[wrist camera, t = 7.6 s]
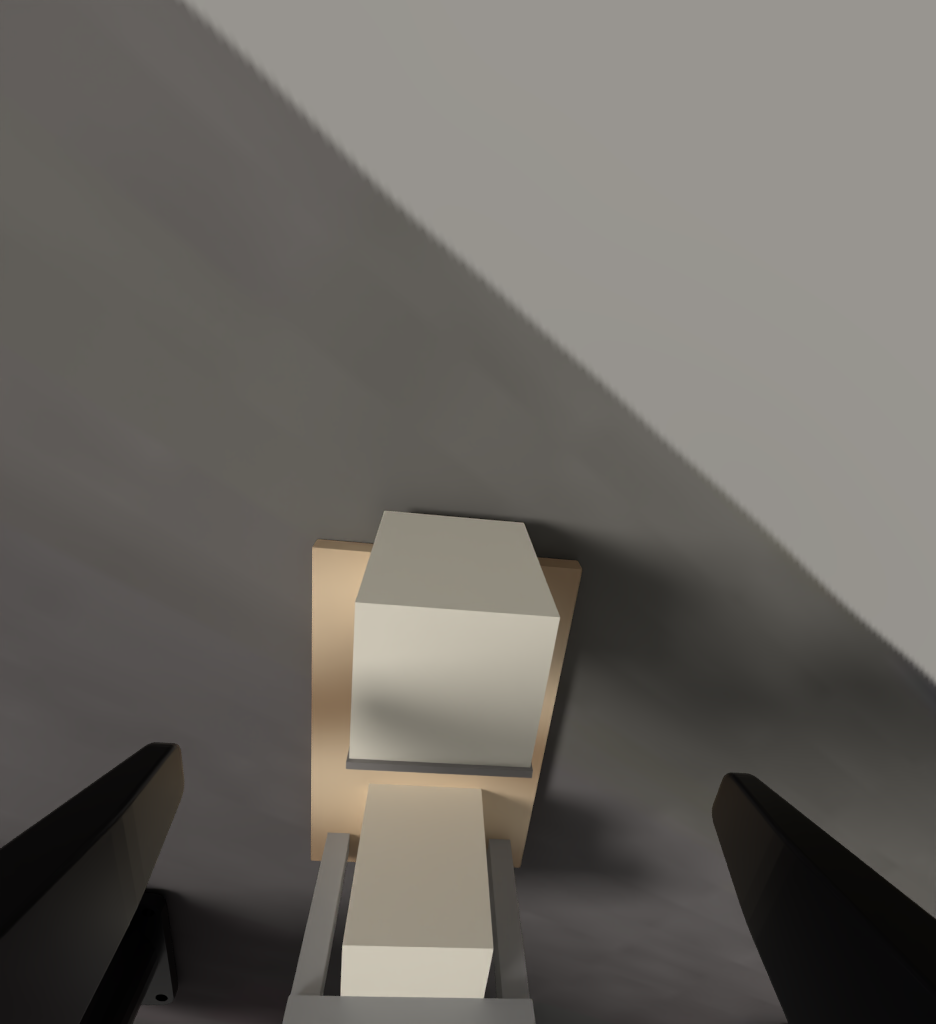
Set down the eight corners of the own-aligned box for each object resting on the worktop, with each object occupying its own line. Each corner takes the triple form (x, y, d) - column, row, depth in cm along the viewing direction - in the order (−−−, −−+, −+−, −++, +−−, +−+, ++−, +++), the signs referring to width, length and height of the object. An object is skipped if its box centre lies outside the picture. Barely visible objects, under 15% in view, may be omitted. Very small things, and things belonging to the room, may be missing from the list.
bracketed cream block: (505, 863, 20) (528, 1068, 14) (327, 857, 19) (281, 1067, 14) (519, 790, 19) (550, 986, 13) (328, 781, 18) (278, 981, 13)
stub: (506, 643, 16) (531, 777, 11) (375, 633, 16) (345, 769, 11) (525, 523, 15) (563, 619, 10) (382, 510, 14) (351, 605, 10)
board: (518, 852, 21) (520, 867, 20) (314, 844, 20) (311, 860, 19) (577, 560, 16) (582, 569, 15) (317, 539, 15) (312, 547, 15)
